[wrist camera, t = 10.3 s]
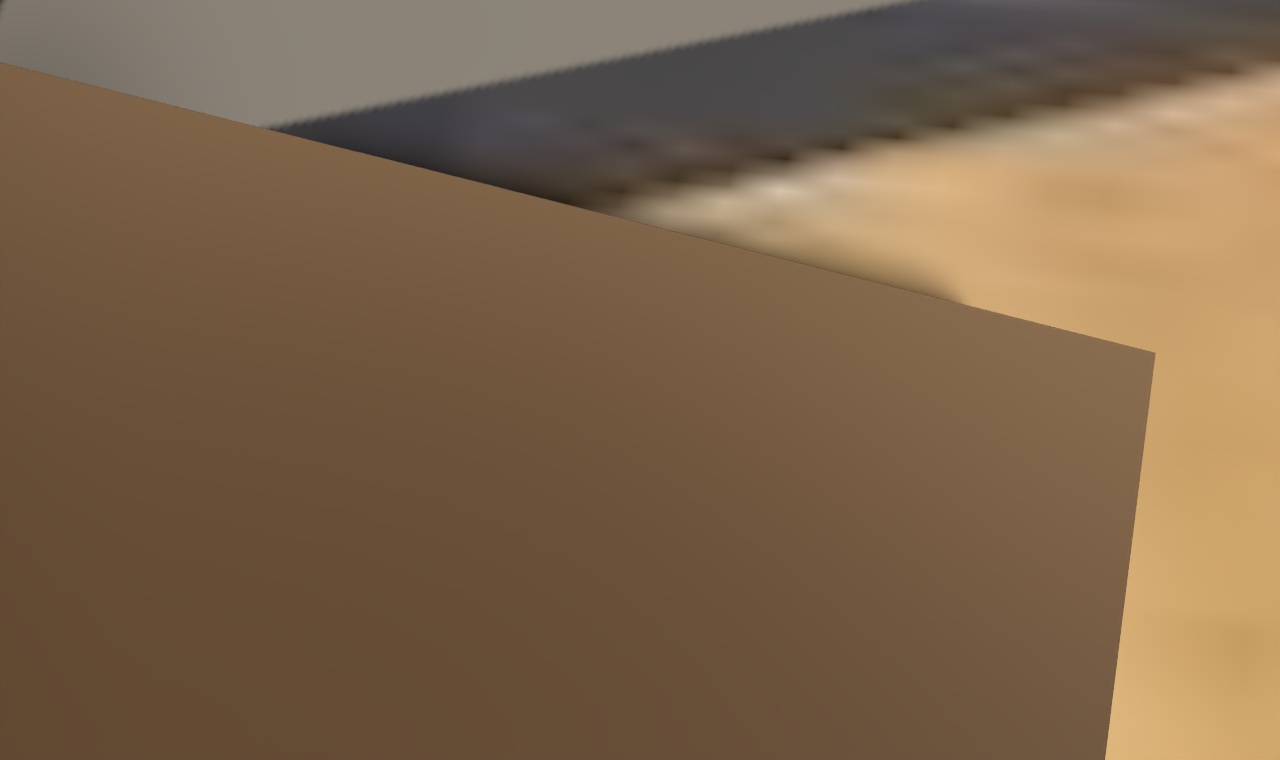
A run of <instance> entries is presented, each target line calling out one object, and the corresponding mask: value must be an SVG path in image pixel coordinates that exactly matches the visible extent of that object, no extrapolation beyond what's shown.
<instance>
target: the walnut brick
mask: <svg viewBox="0 0 1280 760" xmlns="http://www.w3.org/2000/svg"><path fill="white" fill-rule="evenodd" d="M1154 360H1155V353H1154V352H1150V351H1146V350H1142V349H1138V348H1134V347H1130V346H1126V345H1122V344H1118V343H1114V342H1110V341H1106V340H1102V339H1098V338H1094V337H1090V336H1086V335H1082V334H1078V333H1075V332H1071V331H1067V330H1063V329H1059V328H1055V327H1051V326H1047V325H1043V324H1039V323H1035V322H1031V321H1027V320H1023V319H1019V318H1015V317H1011V316H1007V315H1003V314H999V313H995V312H991V311H987V310H983V309H979V308H975V307H971V306H967V305H963V304H959V303H955V302H951V301H947V300H943V299H939V298H935V297H931V296H927V295H923V294H920V293H916V292H912V291H908V290H904V289H900V288H896V287H892V286H888V285H884V284H880V283H876V282H872V281H868V280H864V279H860V278H856V277H852V276H848V275H844V274H840V273H836V272H832V271H828V270H824V269H820V268H816V267H812V266H808V265H804V264H800V263H796V262H792V261H788V260H784V259H780V258H776V257H772V256H768V255H765V254H761V253H757V252H753V251H749V250H745V249H741V248H737V247H733V246H729V245H725V244H721V243H717V242H713V241H709V240H705V239H701V238H697V237H693V236H689V235H685V234H681V233H677V232H673V231H669V230H665V229H661V228H657V227H653V226H649V225H645V224H641V223H637V222H633V221H629V220H625V219H621V218H617V217H613V216H610V215H606V214H602V213H598V212H594V211H590V210H586V209H582V208H578V207H574V206H570V205H566V204H562V203H558V202H554V201H550V200H546V199H542V198H538V197H534V196H530V195H526V194H522V193H518V192H514V191H510V190H506V189H502V188H498V187H494V186H490V185H486V184H482V183H478V182H474V181H470V180H466V179H462V178H459V177H455V176H451V175H447V174H443V173H439V172H435V171H431V170H427V169H423V168H419V167H415V166H411V165H407V164H403V163H399V162H395V161H391V160H387V159H383V158H379V157H375V156H371V155H367V154H363V153H359V152H355V151H351V150H347V149H343V148H339V147H335V146H331V145H327V144H323V143H319V142H315V141H311V140H307V139H304V138H300V137H296V136H292V135H288V134H284V133H280V132H276V131H272V130H268V129H264V128H260V127H256V126H252V125H248V124H244V123H240V122H236V121H232V120H228V119H224V118H220V117H216V116H212V115H208V114H204V113H200V112H196V111H192V110H188V109H184V108H180V107H176V106H172V105H168V104H164V103H160V102H156V101H152V100H149V99H144V98H141V97H137V96H132V95H129V94H125V93H120V92H116V91H113V90H109V89H105V88H100V87H96V86H92V85H89V84H85V83H81V82H77V81H73V80H69V79H65V78H61V77H57V76H53V75H49V74H45V73H41V72H37V71H33V70H29V69H25V68H21V67H17V66H13V65H9V64H5V63H1V62H0V760H1105V754H1106V746H1107V738H1108V730H1109V722H1110V714H1111V706H1112V698H1113V690H1114V682H1115V674H1116V666H1117V658H1118V650H1119V642H1120V634H1121V625H1122V617H1123V609H1124V601H1125V593H1126V585H1127V577H1128V569H1129V561H1130V553H1131V545H1132V537H1133V529H1134V521H1135V513H1136V505H1137V497H1138V489H1139V481H1140V473H1141V465H1142V457H1143V449H1144V441H1145V433H1146V425H1147V417H1148V408H1149V400H1150V392H1151V384H1152V376H1153V368H1154Z"/></svg>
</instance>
